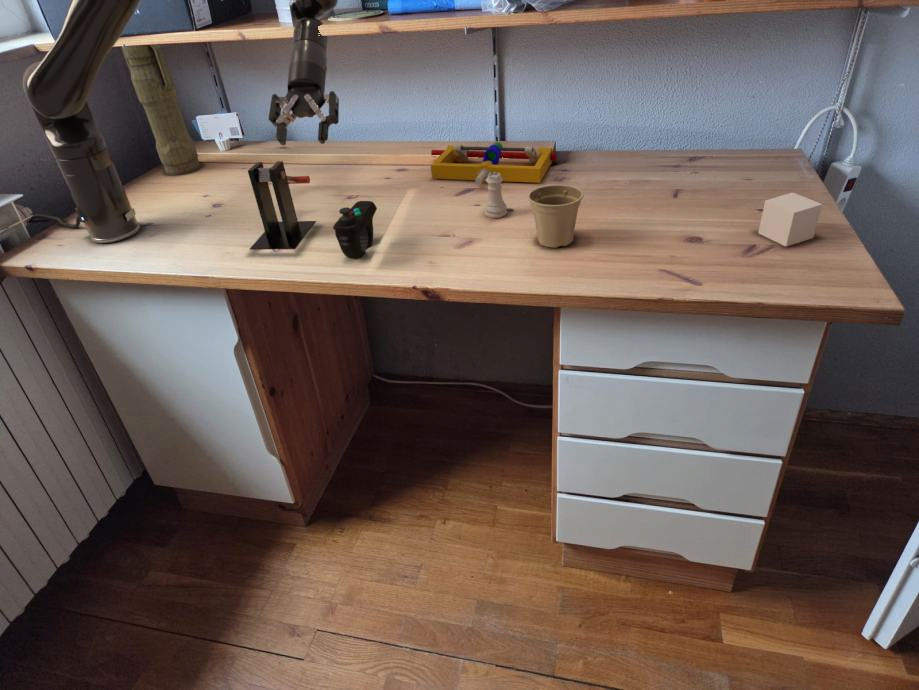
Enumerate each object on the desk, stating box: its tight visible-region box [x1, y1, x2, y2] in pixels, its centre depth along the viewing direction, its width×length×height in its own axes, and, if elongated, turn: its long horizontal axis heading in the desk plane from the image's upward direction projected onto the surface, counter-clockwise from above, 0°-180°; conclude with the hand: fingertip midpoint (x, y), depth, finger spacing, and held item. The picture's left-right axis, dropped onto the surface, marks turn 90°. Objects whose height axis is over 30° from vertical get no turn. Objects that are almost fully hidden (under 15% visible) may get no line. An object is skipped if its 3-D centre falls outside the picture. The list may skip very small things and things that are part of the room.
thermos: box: [120, 43, 201, 176], centre depth 152 cm, size 9×12×35 cm
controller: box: [332, 200, 378, 259], centre depth 111 cm, size 4×12×10 cm, turn 167°
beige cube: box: [757, 192, 823, 248], centre depth 104 cm, size 6×6×6 cm
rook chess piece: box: [484, 172, 508, 219], centre depth 121 cm, size 4×4×8 cm
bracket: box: [247, 160, 317, 251], centre depth 117 cm, size 12×9×15 cm
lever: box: [258, 167, 311, 185], centre depth 119 cm, size 14×6×2 cm, turn 172°
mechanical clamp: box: [430, 141, 558, 186], centre depth 139 cm, size 18×6×30 cm
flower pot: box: [527, 184, 585, 249], centre depth 109 cm, size 9×9×9 cm
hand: (301, 142), depth 128 cm, fingers open, 8 cm apart
